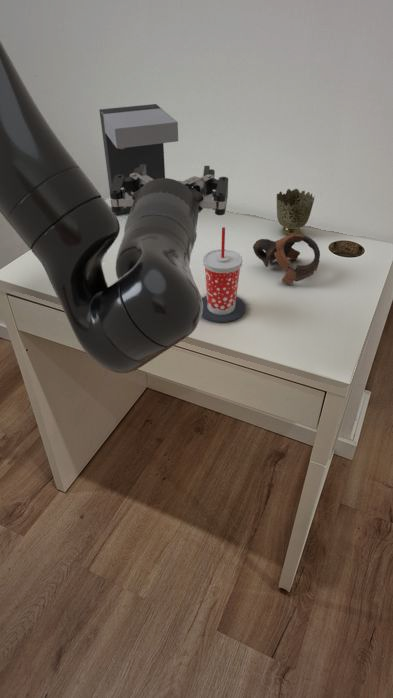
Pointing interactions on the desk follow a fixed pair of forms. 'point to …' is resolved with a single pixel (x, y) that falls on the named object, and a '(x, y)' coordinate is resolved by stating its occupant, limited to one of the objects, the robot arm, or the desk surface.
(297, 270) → the leather belt
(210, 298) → the beverage cup
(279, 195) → the cup
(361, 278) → the desk surface
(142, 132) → the coffee machine
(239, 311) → the coaster
